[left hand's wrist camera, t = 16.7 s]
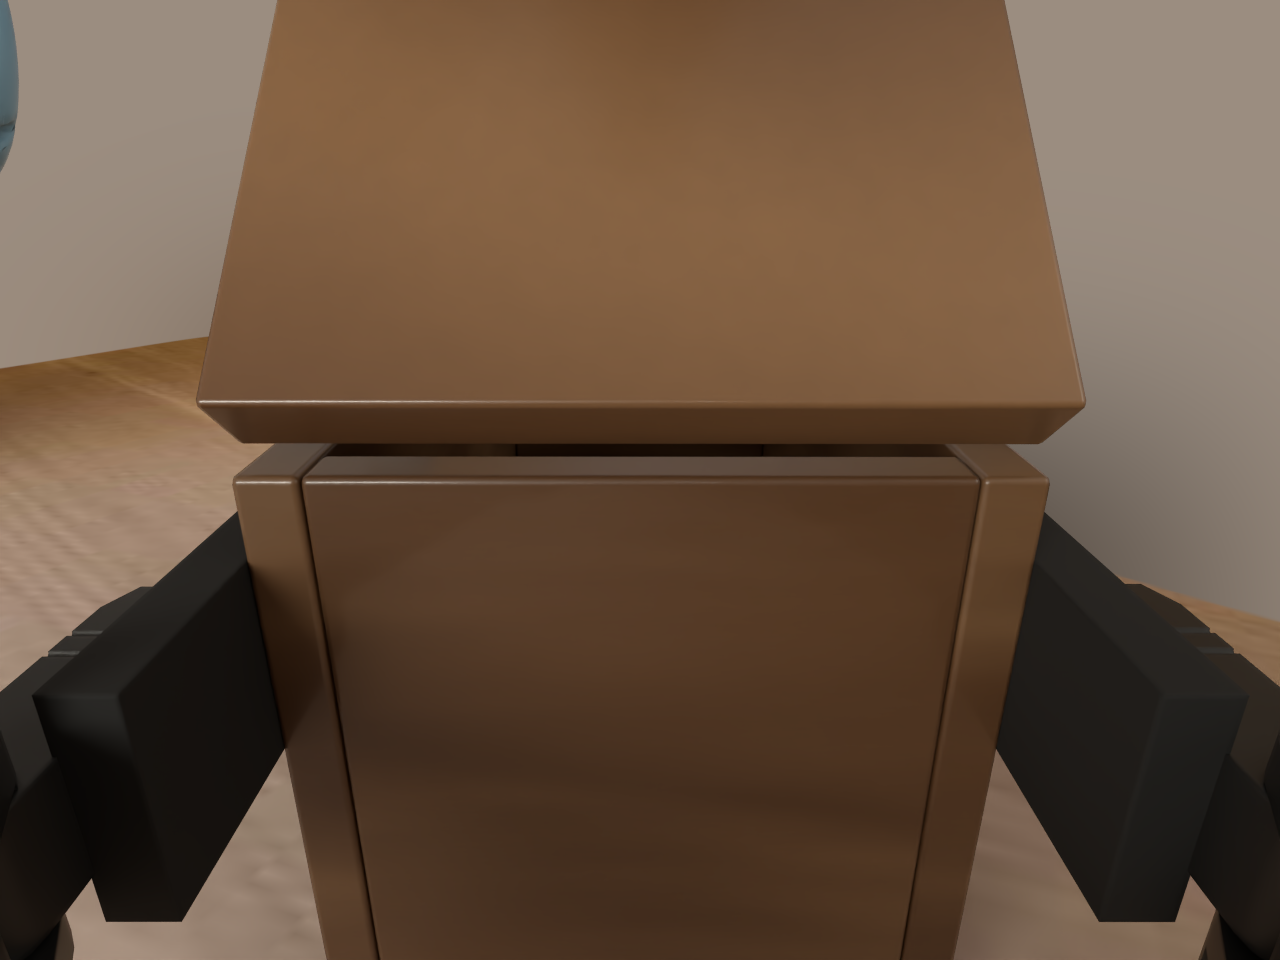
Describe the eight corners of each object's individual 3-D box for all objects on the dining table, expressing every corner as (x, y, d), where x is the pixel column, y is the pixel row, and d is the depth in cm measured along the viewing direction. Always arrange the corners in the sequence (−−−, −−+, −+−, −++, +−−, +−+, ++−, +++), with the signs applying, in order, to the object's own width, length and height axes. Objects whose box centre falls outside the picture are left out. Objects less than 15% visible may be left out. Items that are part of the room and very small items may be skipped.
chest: (502, 562, 28) (482, 273, 24) (775, 562, 28) (796, 273, 24) (341, 1050, 13) (227, 477, 9) (937, 1050, 13) (1055, 478, 9)
